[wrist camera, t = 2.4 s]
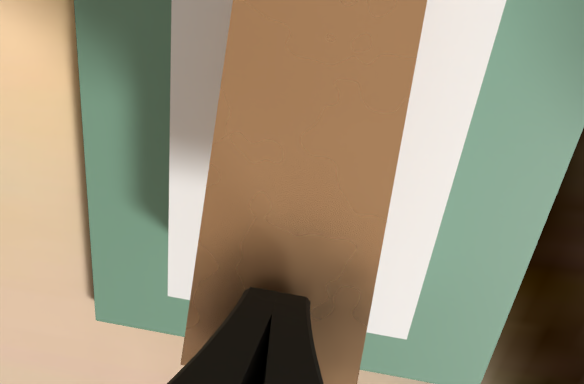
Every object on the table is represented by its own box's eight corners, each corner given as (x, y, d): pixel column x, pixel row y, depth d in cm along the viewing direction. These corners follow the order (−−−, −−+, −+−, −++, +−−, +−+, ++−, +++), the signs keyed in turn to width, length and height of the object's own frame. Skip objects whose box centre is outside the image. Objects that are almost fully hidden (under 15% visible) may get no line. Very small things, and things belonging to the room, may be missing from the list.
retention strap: (452, -154, 12) (458, -170, 11) (353, 385, 13) (354, 397, 12) (264, -178, 12) (260, -195, 11) (187, 354, 13) (180, 364, 13)
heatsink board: (850, -587, 11) (1163, -904, 6) (474, 376, 23) (496, 483, 19) (47, -653, 12) (-140, -966, 7) (104, 308, 24) (46, 395, 20)
